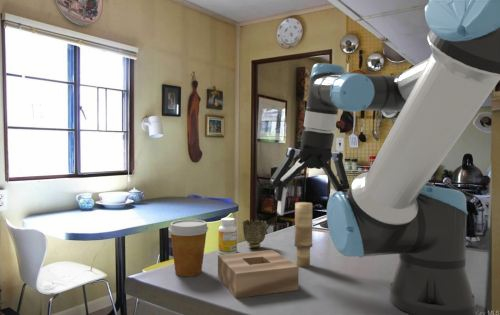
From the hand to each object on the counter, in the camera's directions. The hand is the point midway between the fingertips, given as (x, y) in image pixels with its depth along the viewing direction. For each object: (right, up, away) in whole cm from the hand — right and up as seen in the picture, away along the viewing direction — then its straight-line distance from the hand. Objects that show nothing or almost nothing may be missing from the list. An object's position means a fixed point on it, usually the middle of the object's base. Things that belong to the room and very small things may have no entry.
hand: (305, 214), depth 95 cm
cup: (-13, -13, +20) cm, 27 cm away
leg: (0, -14, +3) cm, 14 cm away
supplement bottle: (-20, -13, +15) cm, 29 cm away
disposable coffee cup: (-29, -14, -3) cm, 32 cm away
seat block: (-13, -14, -10) cm, 21 cm away
